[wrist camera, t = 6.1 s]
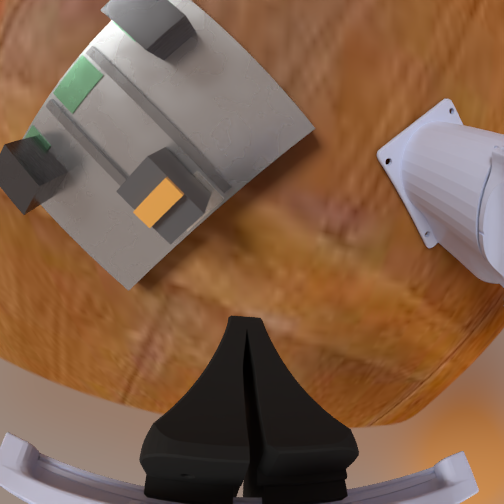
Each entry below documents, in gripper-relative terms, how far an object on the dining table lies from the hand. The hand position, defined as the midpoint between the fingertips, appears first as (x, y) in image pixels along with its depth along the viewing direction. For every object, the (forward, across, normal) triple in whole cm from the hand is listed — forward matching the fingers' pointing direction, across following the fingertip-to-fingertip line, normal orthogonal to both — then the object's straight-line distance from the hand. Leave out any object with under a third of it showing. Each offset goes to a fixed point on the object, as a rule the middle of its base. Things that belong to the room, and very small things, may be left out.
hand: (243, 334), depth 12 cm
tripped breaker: (+8, +5, -4) cm, 10 cm away
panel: (+9, +8, -7) cm, 14 cm away
